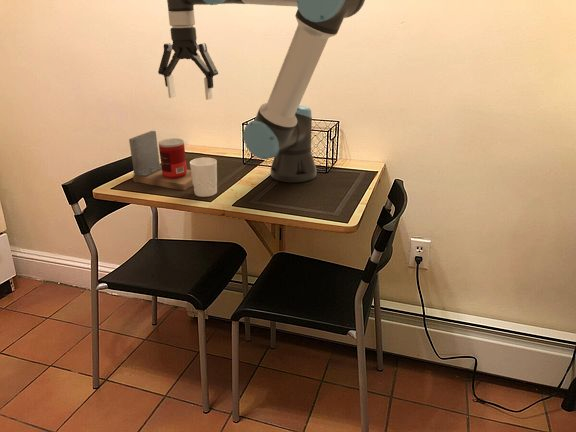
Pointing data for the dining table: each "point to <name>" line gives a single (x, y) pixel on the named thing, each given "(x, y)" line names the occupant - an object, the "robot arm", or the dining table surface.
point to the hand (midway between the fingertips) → (190, 98)
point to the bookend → (145, 154)
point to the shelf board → (166, 180)
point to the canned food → (172, 158)
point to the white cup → (204, 176)
